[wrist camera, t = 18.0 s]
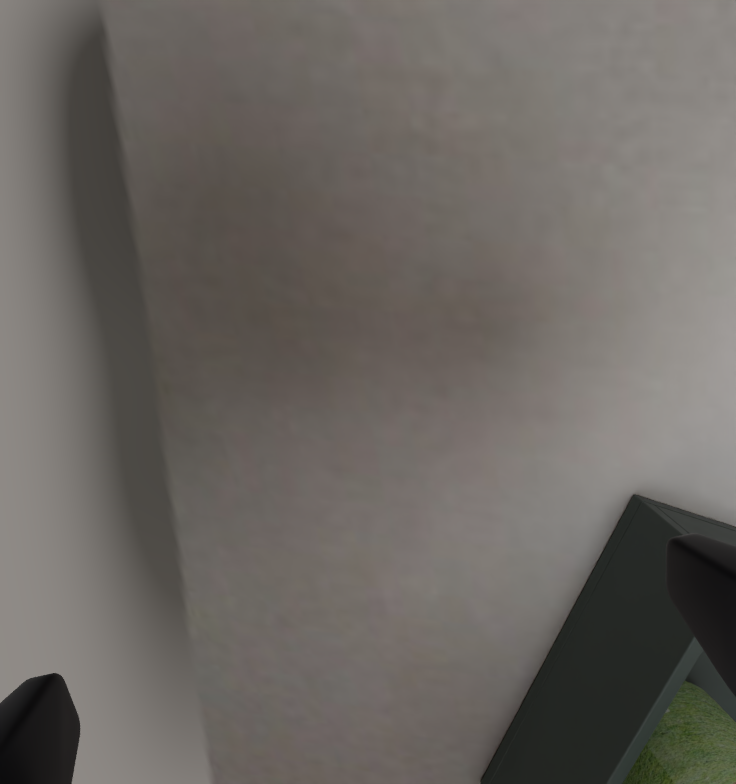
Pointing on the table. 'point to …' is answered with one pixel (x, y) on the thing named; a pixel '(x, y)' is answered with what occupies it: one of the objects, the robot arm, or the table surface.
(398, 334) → the table surface
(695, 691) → the beverage can
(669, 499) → the table surface
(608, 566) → the open square box
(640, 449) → the table surface
